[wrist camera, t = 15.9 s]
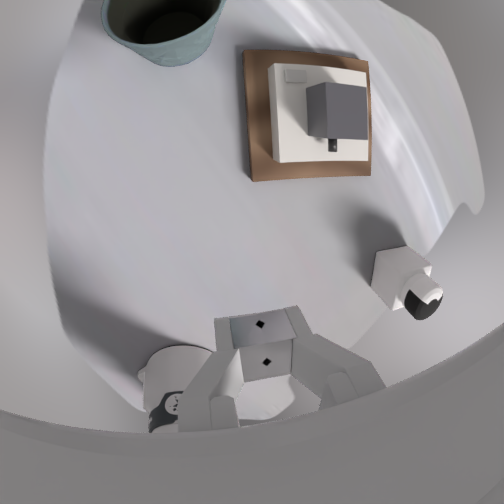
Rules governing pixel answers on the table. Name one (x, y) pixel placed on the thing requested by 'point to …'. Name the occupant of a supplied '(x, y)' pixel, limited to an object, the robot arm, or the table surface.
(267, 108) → the mounting board
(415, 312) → the medicine bottle
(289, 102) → the socket
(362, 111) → the plug
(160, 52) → the teal cup
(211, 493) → the robot arm
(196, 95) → the table surface
